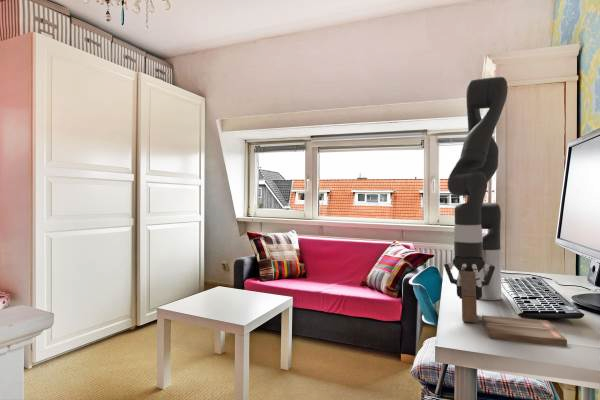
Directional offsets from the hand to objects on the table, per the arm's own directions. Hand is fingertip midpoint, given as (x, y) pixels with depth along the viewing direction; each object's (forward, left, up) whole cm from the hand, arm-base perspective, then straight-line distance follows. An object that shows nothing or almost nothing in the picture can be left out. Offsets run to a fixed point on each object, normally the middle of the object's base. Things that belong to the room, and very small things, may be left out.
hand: (469, 298), depth 104 cm
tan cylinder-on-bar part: (0, 0, -5) cm, 5 cm away
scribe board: (+8, +11, -6) cm, 15 cm away
